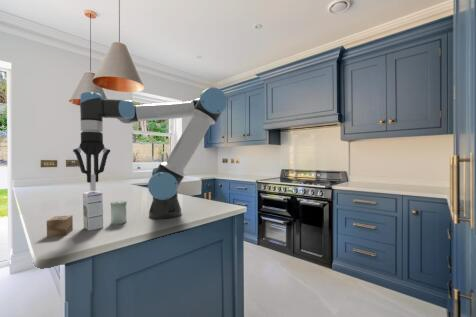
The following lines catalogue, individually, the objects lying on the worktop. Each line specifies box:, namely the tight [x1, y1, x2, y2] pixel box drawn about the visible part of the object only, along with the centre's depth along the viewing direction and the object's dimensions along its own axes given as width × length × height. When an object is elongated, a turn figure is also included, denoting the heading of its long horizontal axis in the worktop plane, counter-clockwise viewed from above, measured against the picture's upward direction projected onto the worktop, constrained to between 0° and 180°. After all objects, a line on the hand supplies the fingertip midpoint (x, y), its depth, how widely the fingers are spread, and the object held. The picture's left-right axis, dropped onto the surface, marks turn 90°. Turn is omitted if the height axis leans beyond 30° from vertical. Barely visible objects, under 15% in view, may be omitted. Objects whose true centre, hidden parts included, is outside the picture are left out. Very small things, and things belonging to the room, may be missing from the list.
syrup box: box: [82, 190, 104, 231], centre depth 94 cm, size 6×6×14 cm
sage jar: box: [109, 200, 128, 225], centre depth 101 cm, size 6×6×9 cm
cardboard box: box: [46, 215, 74, 238], centre depth 87 cm, size 6×6×6 cm
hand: (92, 190), depth 94 cm, fingers closed
